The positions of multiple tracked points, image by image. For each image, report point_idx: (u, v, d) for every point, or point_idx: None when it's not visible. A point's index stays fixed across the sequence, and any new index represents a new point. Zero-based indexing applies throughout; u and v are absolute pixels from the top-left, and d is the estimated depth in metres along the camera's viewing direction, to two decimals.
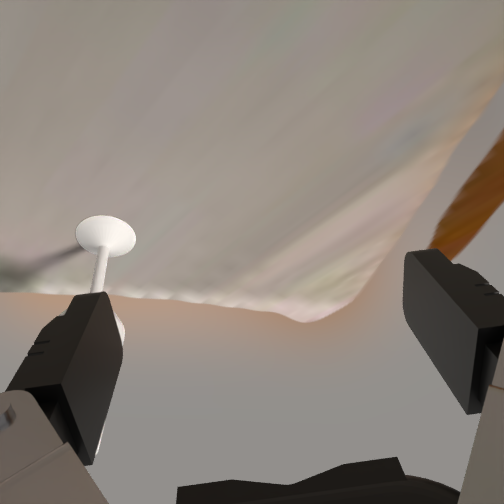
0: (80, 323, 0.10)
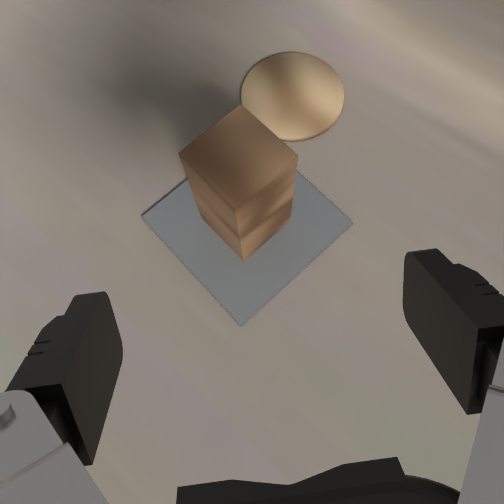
0: (80, 323, 0.10)
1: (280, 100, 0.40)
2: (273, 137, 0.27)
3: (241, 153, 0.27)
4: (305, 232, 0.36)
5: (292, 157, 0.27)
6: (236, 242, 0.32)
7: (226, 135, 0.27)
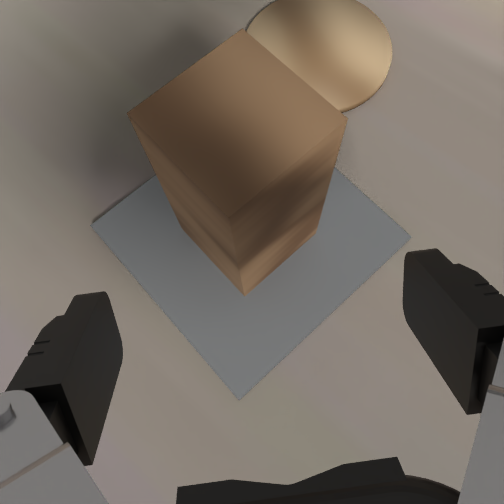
0: (80, 323, 0.10)
1: (299, 57, 0.27)
2: (301, 86, 0.15)
3: (242, 114, 0.15)
4: (339, 251, 0.23)
5: (337, 122, 0.14)
6: (233, 270, 0.20)
7: (215, 82, 0.15)
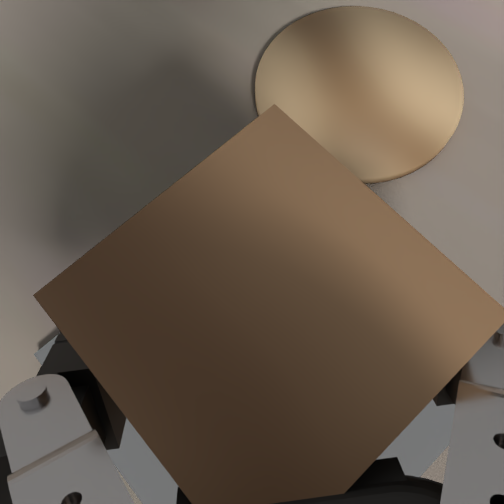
0: None
1: (334, 99, 0.20)
2: (404, 236, 0.07)
3: (281, 302, 0.07)
4: None
5: (490, 325, 0.07)
6: None
7: (222, 225, 0.07)
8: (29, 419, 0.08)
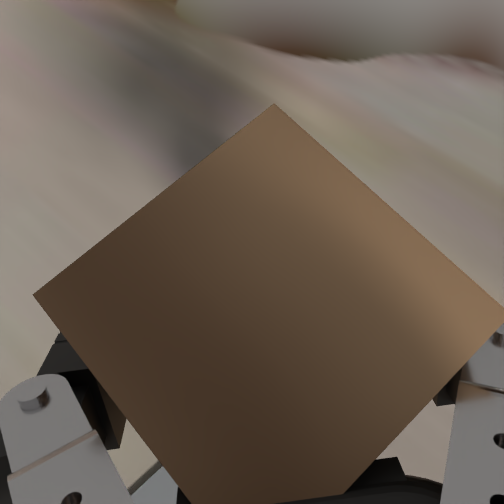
0: None
1: None
2: (404, 236, 0.07)
3: (280, 302, 0.07)
4: None
5: (490, 325, 0.07)
6: None
7: (222, 224, 0.07)
8: (29, 419, 0.08)
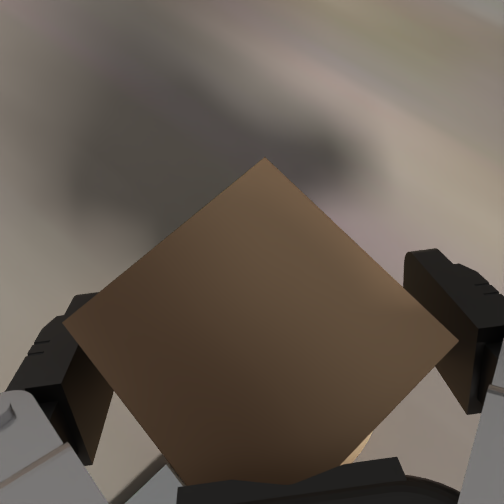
0: None
1: None
2: (372, 273, 0.08)
3: (268, 329, 0.08)
4: None
5: (441, 349, 0.08)
6: None
7: (220, 263, 0.09)
8: None
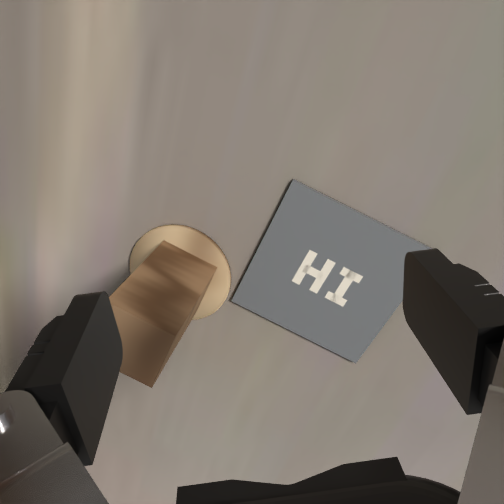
0: (80, 323, 0.10)
1: None
2: None
3: (127, 343, 0.30)
4: (320, 222, 0.35)
5: None
6: (203, 291, 0.35)
7: None
8: None
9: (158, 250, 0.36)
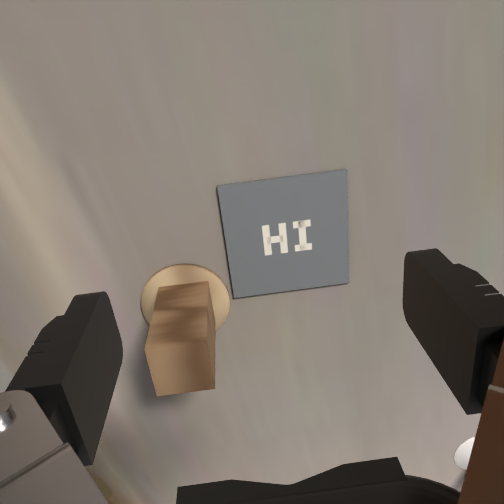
0: (80, 323, 0.10)
1: None
2: (151, 367, 0.37)
3: (178, 368, 0.38)
4: (255, 202, 0.42)
5: (148, 350, 0.37)
6: (208, 303, 0.43)
7: (179, 383, 0.38)
8: None
9: (159, 296, 0.44)
